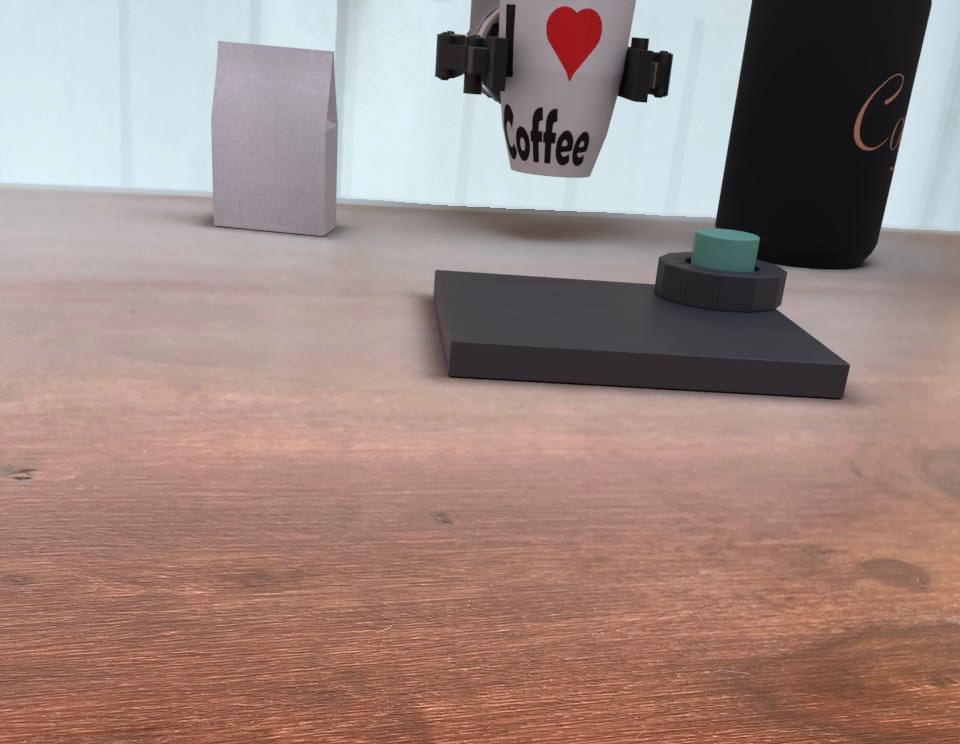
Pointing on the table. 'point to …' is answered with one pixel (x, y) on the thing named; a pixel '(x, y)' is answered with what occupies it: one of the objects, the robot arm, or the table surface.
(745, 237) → the button
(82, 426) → the table surface
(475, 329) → the scale
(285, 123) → the grey paper bag
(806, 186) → the coffee jar
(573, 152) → the cup
